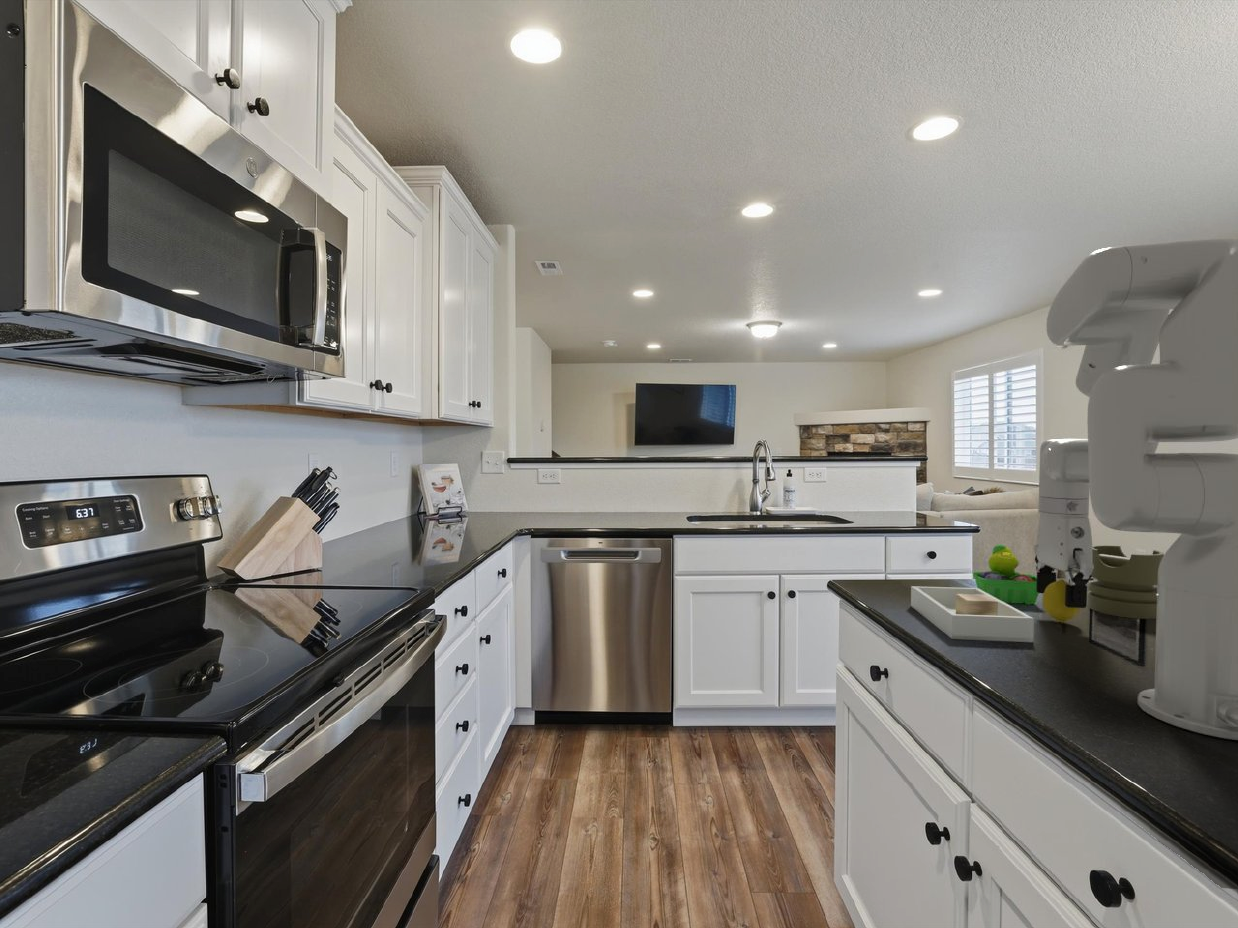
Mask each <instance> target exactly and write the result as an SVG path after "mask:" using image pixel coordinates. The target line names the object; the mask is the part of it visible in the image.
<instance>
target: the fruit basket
mask: <svg viewBox="0 0 1238 928" xmlns="http://www.w3.org/2000/svg"><path fill="white" fill-rule="evenodd" d="M1019 563H1020V562H1019V559H1018V558H1017V556H1016V555H1014V553H1013V551H1012V550H1011V548H1009V547H1007V546H1006V545H1004V544H996V545H995V546H993V549H992V553H991V555H990V556H989V559H988V567H989V568H990V570H988V571H982V572H981V571H975V572H972V576H973V578H974V580H975V583H976V588H979V589H980V590H982V591H984V592H986V593H988V594H990V595H992V596H993V597H995V598H997V599H999V600H1001V601H1003V602H1005V603H1006V604H1013V603H1025V604H1024V605H1030V604H1035V605H1036V602H1037V600H1038V596H1039V594H1040V593H1038V592H1037V591H1036V584H1037V576H1035V575H1034V574H1028V573H1020V572H1016V571H1015V569H1017V567H1018V566H1019Z"/></svg>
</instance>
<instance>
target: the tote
mask: <svg viewBox="0 0 1238 928" xmlns="http://www.w3.org/2000/svg"><path fill="white" fill-rule="evenodd" d="M910 588H911V589H910V606H911V608H913V609H914V610H915V611H917V612H918V613H919V614H920V615H922V616H923V617H924V618H925V619H927V620H928V621H929V622H930V623H931V624H933V625H934V626H935V627H936V628H937V629H939V630H940V631H941V632H943V633H944V634H945V635H946V636H948V637H949V638H950V639H951V640H967V641H968V640H971V641H972V640H973V641H991V642H993V641H994V642H1015V643H1016V642H1019V643H1034V631H1035V630H1034V629H1035V628H1034V625H1035V624H1034V622H1035V619H1034V617H1032V616H1030V615H1028V614H1027V613H1025V612H1023V611H1021V610H1019V609H1018V608H1015V607H1014V606H1012V605H1010V604H1009V603H1005V602H1003V601H1001V600H999V599H997V598H995V597H993V596H992V595H990V594H988V593H986V592H984V591H982V590H980V589H979V588H977V587H976V588H975V587H951V586H950V587H947V586H946V587H944V586H942V587H941V586H913V585H911V587H910ZM956 594H982V595H987V596H989V597H991V598H993V599H994V600H996V601H998V616H991V615H963V614H956Z"/></svg>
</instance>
